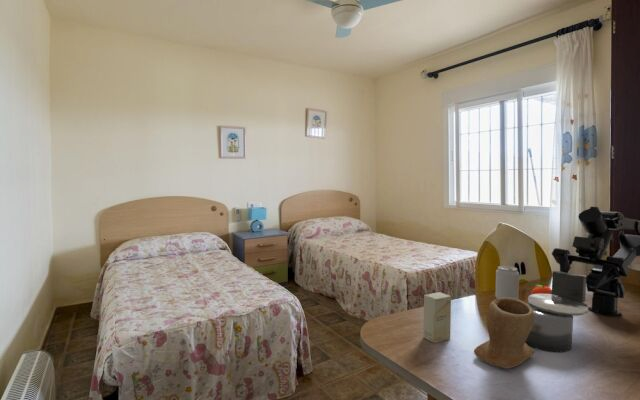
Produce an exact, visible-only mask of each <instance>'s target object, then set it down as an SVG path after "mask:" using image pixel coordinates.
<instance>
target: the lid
mask: <svg viewBox="0 0 640 400" xmlns="http://www.w3.org/2000/svg"><path fill="white" fill-rule="evenodd" d="M551 275H552V276H551V277H552V280H551V290H552V294H532V295H531V294H530V295H528V297H527V304H528V303H529V304H530V305H531V306H533V307H535V308H537V309H539V310H542V311H546V312H550V313H554V314H560V315H571V316H573V317H575V316H578V317H579V316H583V315H586V314H587V315H588V312H589V309H588V307H589V306H588V304H586V303H585V302H586V292H587V285H586V276H585V275H584V276H583V275H579V274H574V273H569V272H568V273H565V272H560V270H552V273H551Z"/></svg>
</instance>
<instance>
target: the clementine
mask: <svg viewBox="0 0 640 400" xmlns="http://www.w3.org/2000/svg"><path fill="white" fill-rule="evenodd" d="M534 286H535V287H534ZM529 288H530V289H529V290H531V289H532V288H533V289H532V290H531V293H530V295H532V294H552V288H550V287H549V286H546V285H541V284H535V285H532V286H531V287H529Z"/></svg>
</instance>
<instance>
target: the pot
mask: <svg viewBox="0 0 640 400" xmlns="http://www.w3.org/2000/svg"><path fill="white" fill-rule="evenodd" d="M527 304H528V305H529V306H530V307H531V308H532V309H533V312H534V322H533V327H532V329H531V331H530V333H529V335H528V337H527V339H526V342H525V343H526V344H527V345H528V346H529V347H531V348H532V349H536V350H538V351H544V352H549V353H567V352H569V351H571V350H572V349H573V331H574V330H573V329H574V316H571V315H560V314H554V313H550V312H546V311H542V310H539V309H537V308H535V307H533V306H531V305H530V304H529V303H528V302H527Z"/></svg>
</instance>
